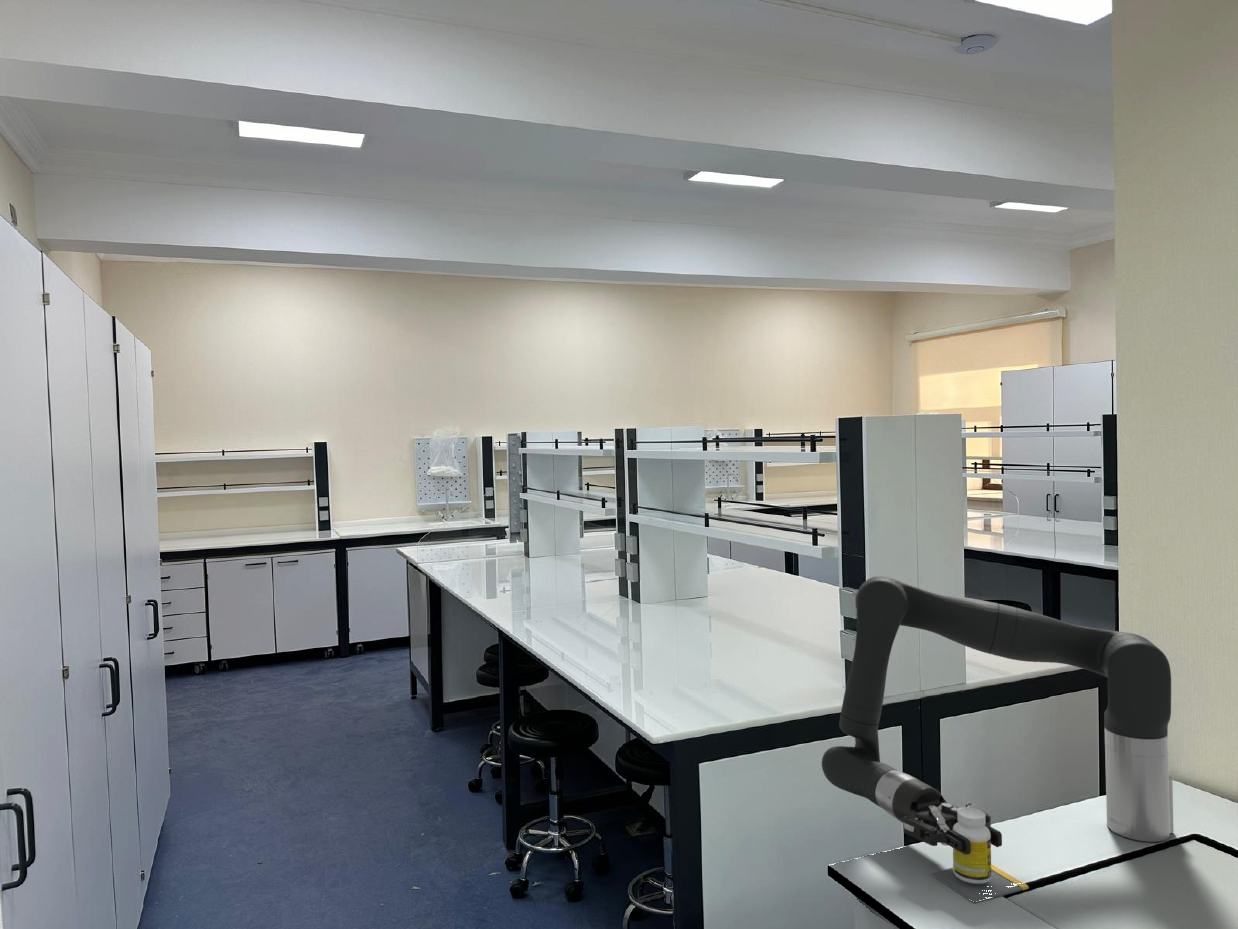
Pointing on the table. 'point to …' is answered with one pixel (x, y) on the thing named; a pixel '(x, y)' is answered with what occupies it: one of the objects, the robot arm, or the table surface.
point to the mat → (972, 890)
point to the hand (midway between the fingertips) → (984, 844)
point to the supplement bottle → (973, 847)
